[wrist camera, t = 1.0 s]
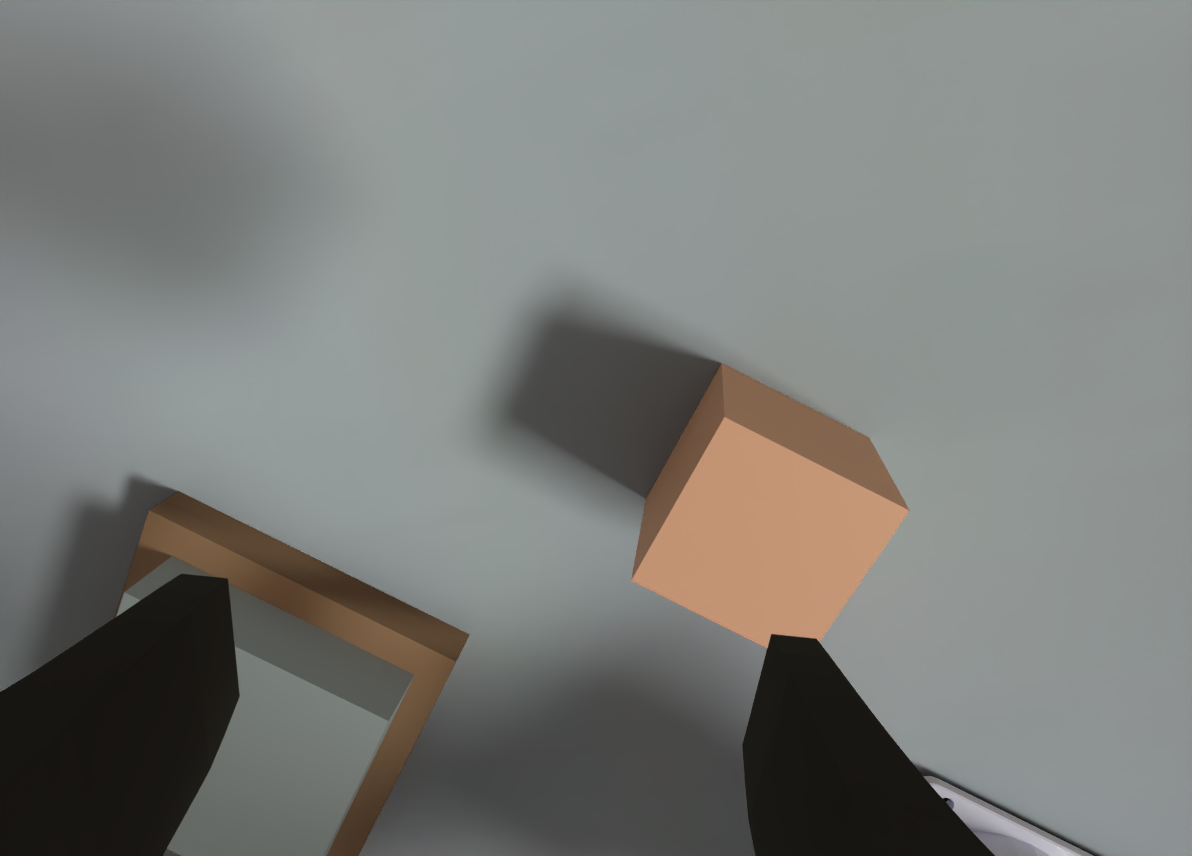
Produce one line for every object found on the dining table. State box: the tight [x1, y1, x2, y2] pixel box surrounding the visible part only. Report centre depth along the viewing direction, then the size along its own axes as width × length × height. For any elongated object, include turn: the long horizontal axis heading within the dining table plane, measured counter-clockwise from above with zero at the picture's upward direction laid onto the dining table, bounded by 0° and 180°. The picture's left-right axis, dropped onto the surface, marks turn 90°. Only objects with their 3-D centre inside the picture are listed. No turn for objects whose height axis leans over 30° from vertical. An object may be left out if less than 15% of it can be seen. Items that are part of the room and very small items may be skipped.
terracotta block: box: [631, 363, 910, 648], centre depth 22 cm, size 4×4×5 cm
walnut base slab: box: [114, 491, 469, 856], centre depth 28 cm, size 10×10×2 cm
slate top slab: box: [116, 556, 414, 856], centre depth 26 cm, size 8×8×2 cm
